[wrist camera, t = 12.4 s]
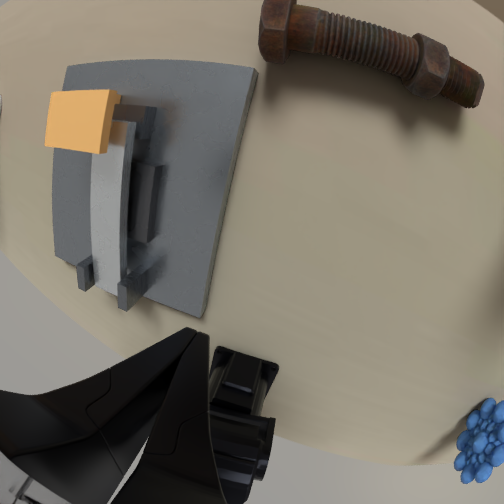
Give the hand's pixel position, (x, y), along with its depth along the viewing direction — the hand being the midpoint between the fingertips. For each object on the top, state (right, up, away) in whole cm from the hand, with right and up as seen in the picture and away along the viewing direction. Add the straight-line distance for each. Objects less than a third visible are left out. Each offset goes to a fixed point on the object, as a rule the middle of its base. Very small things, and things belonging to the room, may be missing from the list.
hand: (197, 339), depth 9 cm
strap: (-9, +6, +10) cm, 15 cm away
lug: (-9, +13, +9) cm, 18 cm away
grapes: (+34, -20, +15) cm, 42 cm away
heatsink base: (-9, +9, +12) cm, 18 cm away
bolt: (+11, +17, +6) cm, 20 cm away
